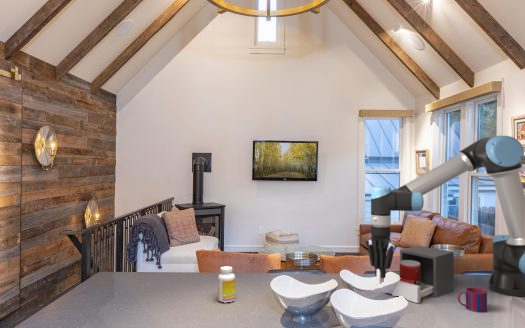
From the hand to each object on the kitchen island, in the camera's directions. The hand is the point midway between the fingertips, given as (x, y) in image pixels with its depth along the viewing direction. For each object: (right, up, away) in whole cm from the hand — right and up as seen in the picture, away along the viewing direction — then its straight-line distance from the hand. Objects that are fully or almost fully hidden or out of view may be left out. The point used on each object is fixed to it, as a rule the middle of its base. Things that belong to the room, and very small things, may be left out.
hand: (380, 285), depth 148 cm
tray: (+14, -5, +4) cm, 15 cm away
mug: (+30, -5, -11) cm, 32 cm away
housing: (+23, -5, +11) cm, 26 cm away
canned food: (+13, -3, +4) cm, 14 cm away
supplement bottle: (-60, -6, -2) cm, 61 cm away
